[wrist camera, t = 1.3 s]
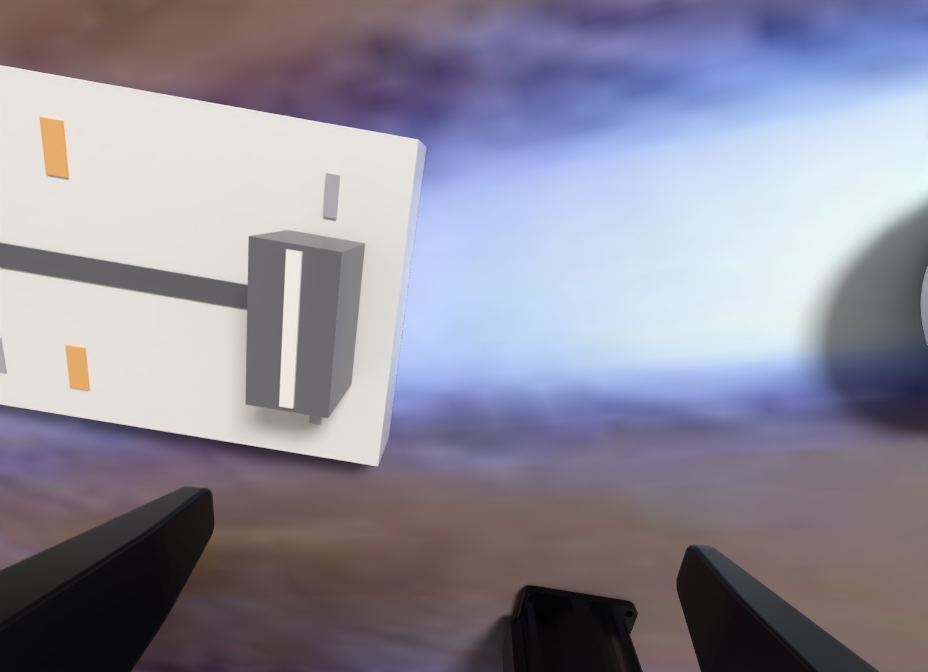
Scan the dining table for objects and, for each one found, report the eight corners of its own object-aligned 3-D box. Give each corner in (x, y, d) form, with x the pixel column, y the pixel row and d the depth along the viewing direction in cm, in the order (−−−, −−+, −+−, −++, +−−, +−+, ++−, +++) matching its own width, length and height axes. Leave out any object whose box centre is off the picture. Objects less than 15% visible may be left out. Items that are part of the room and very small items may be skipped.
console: (426, 147, 18) (418, 139, 16) (388, 438, 23) (377, 467, 20) (-54, 62, 18) (-139, 40, 16) (-2, 373, 22) (-63, 395, 20)
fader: (365, 243, 17) (341, 252, 14) (351, 384, 19) (327, 419, 16) (287, 229, 17) (247, 236, 14) (281, 372, 19) (243, 405, 16)
